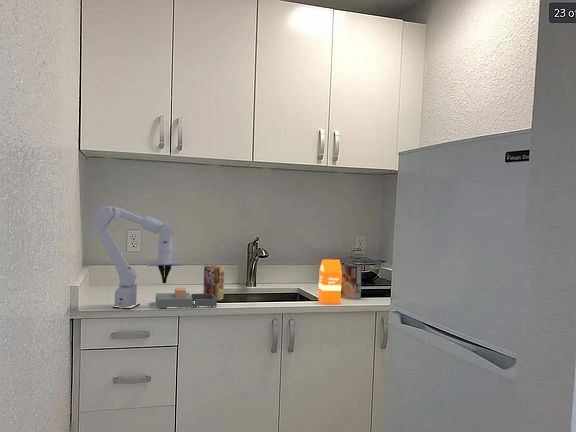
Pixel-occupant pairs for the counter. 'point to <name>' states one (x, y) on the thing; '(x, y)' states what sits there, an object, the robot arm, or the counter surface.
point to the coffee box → (351, 281)
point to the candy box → (214, 281)
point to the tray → (204, 299)
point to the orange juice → (330, 281)
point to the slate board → (172, 300)
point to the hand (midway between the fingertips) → (164, 282)
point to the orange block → (180, 292)
